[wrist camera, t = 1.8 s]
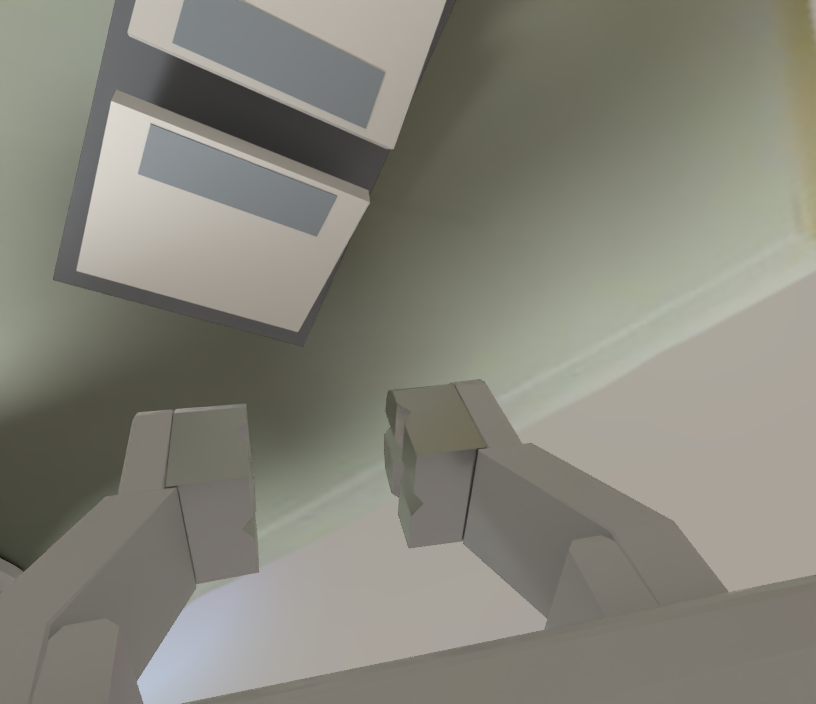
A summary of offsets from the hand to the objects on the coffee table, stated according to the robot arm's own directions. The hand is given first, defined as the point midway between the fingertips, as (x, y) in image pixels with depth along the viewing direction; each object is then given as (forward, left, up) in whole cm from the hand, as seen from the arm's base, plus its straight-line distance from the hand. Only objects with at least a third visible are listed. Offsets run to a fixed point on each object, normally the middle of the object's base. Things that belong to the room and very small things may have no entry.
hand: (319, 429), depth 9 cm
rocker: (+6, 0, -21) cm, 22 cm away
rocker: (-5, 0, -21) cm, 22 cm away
